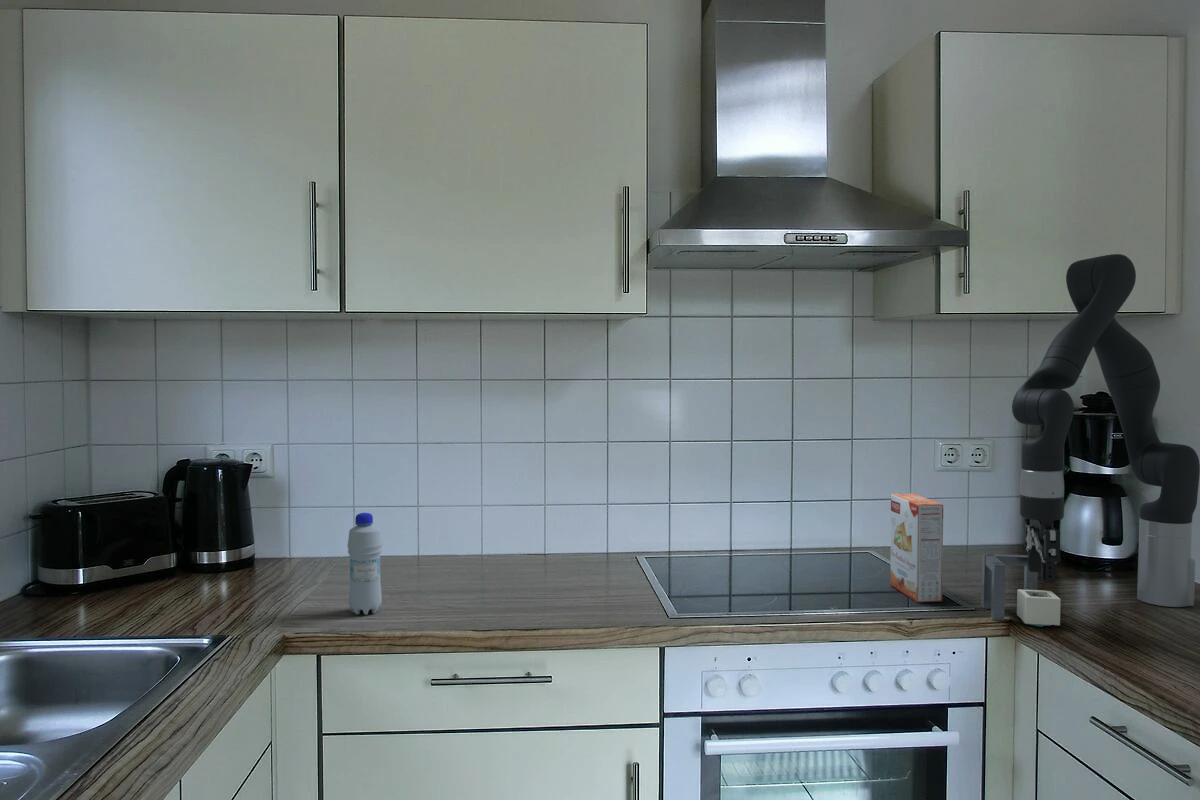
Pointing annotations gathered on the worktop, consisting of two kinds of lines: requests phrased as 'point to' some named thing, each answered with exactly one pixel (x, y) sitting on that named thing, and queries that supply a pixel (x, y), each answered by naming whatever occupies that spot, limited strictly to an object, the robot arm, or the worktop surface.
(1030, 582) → the rail
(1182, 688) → the worktop surface
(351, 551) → the bottle
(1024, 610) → the white square tube
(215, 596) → the worktop surface
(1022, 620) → the peg
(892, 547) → the cracker box
